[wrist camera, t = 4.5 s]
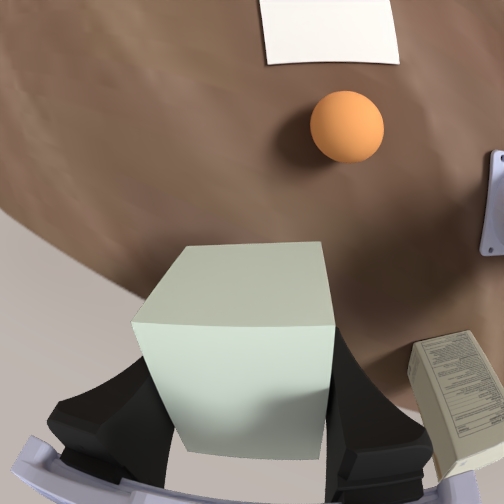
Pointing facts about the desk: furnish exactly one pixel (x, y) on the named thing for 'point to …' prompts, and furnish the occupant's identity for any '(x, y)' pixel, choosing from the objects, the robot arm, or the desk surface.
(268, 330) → the pale green block
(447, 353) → the skincare box
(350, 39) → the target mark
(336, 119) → the ball
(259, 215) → the desk surface
